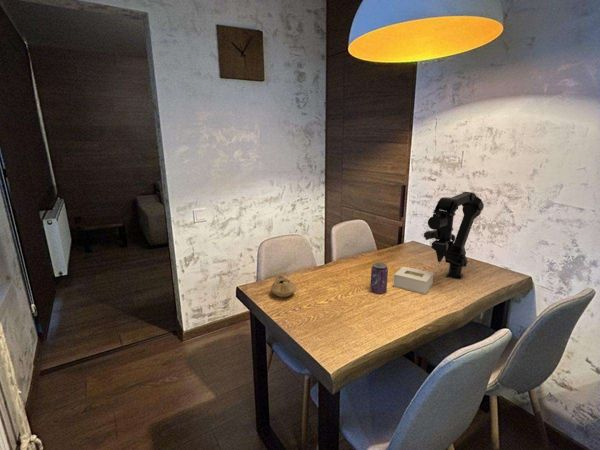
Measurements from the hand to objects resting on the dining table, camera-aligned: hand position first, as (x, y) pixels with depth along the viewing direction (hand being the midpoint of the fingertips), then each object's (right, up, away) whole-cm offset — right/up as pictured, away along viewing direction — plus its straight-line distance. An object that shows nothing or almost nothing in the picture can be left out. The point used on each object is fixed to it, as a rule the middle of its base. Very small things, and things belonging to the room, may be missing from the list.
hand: (441, 259), depth 147 cm
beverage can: (-30, -14, -4) cm, 34 cm away
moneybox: (-13, -12, 0) cm, 18 cm away
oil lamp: (-73, -14, -7) cm, 75 cm away
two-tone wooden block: (-13, -12, 0) cm, 18 cm away
